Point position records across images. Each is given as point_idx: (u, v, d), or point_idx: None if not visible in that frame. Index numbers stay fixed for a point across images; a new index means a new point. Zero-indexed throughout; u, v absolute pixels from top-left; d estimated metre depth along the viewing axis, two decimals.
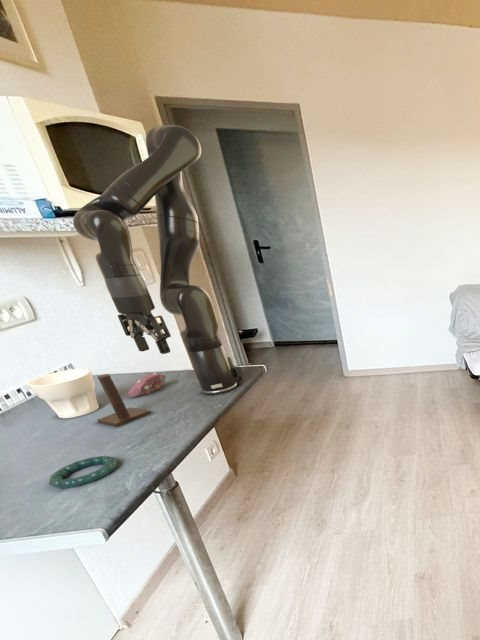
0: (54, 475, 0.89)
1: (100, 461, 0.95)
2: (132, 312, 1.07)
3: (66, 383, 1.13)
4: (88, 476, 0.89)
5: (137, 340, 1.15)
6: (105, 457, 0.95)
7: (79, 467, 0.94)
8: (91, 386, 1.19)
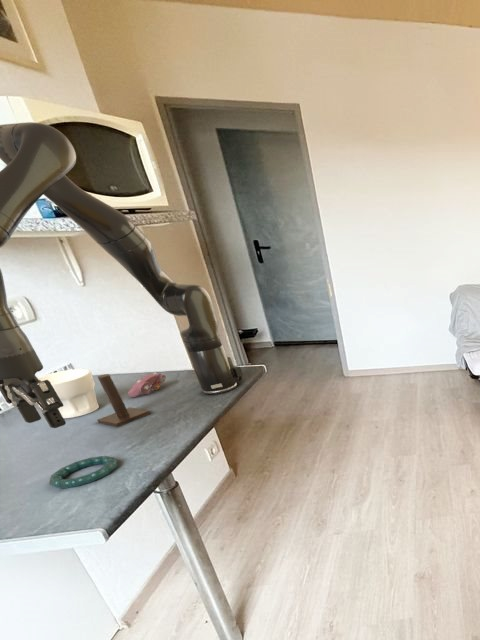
0: (54, 475, 0.89)
1: (100, 461, 0.95)
2: (5, 377, 0.80)
3: (66, 383, 1.13)
4: (88, 476, 0.89)
5: (22, 409, 0.87)
6: (105, 457, 0.95)
7: (79, 467, 0.94)
8: (91, 386, 1.19)
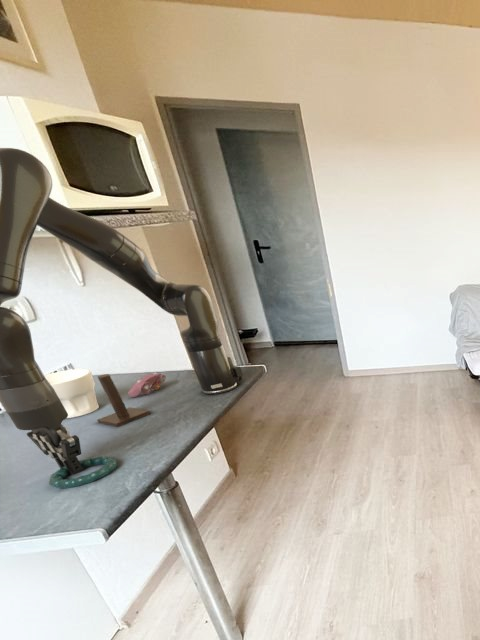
0: (54, 475, 0.89)
1: (100, 461, 0.95)
2: (34, 428, 0.85)
3: (66, 383, 1.13)
4: (88, 476, 0.89)
5: (59, 460, 0.92)
6: (105, 457, 0.95)
7: None
8: (91, 386, 1.19)
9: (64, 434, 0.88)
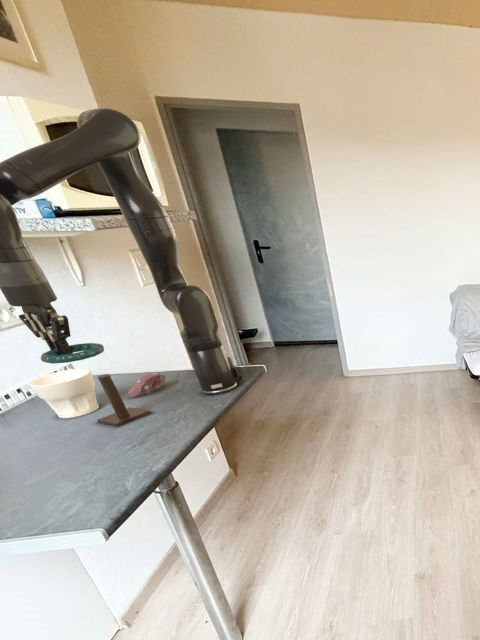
0: (45, 353, 0.96)
1: (88, 347, 1.02)
2: (25, 304, 0.92)
3: (66, 383, 1.13)
4: (77, 354, 0.96)
5: (50, 342, 0.99)
6: (92, 343, 1.02)
7: None
8: (91, 386, 1.19)
9: (54, 313, 0.95)
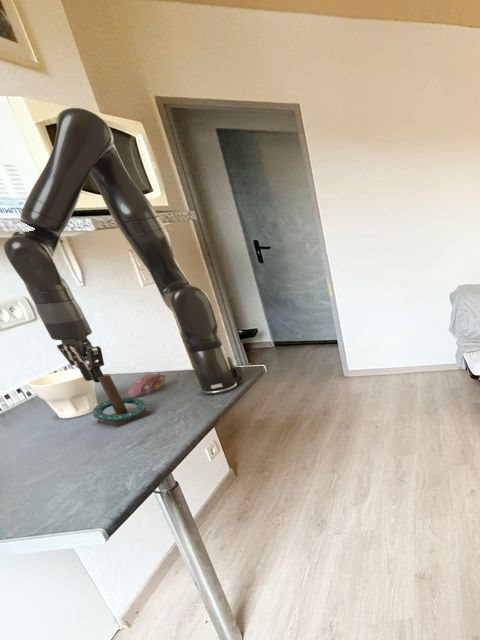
0: (97, 409, 1.12)
1: (131, 401, 1.18)
2: (65, 338, 1.04)
3: (66, 383, 1.13)
4: (127, 415, 1.13)
5: (82, 370, 1.11)
6: (136, 399, 1.19)
7: None
8: (91, 386, 1.19)
9: (89, 345, 1.07)
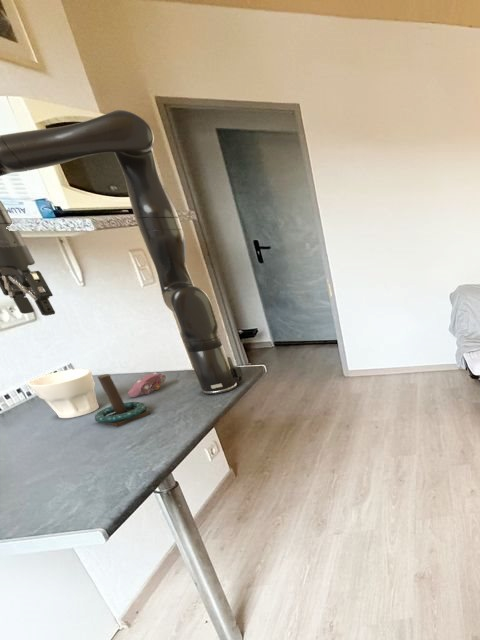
0: (98, 413, 1.13)
1: (132, 405, 1.19)
2: (2, 266, 0.95)
3: (66, 383, 1.13)
4: (125, 414, 1.13)
5: (17, 300, 1.02)
6: (136, 402, 1.19)
7: None
8: (91, 386, 1.19)
9: (28, 272, 0.97)
